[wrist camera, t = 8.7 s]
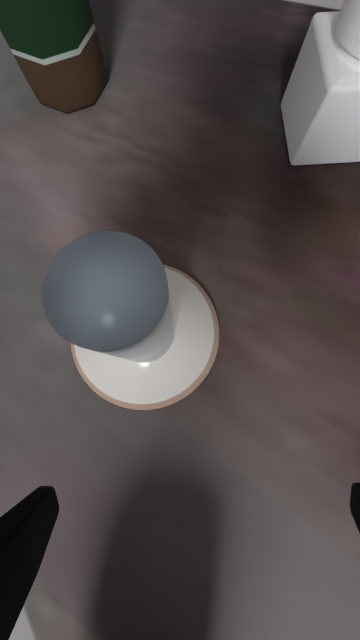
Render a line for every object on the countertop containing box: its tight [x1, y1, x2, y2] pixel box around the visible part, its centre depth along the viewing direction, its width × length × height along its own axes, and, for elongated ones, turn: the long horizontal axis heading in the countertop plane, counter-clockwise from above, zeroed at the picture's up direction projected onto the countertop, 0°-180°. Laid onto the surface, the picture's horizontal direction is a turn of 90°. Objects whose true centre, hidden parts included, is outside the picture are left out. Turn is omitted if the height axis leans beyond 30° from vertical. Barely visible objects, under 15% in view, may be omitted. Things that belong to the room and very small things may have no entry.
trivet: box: [71, 265, 219, 410], centre depth 22 cm, size 12×12×1 cm
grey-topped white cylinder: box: [42, 231, 174, 363], centre depth 16 cm, size 5×5×11 cm
